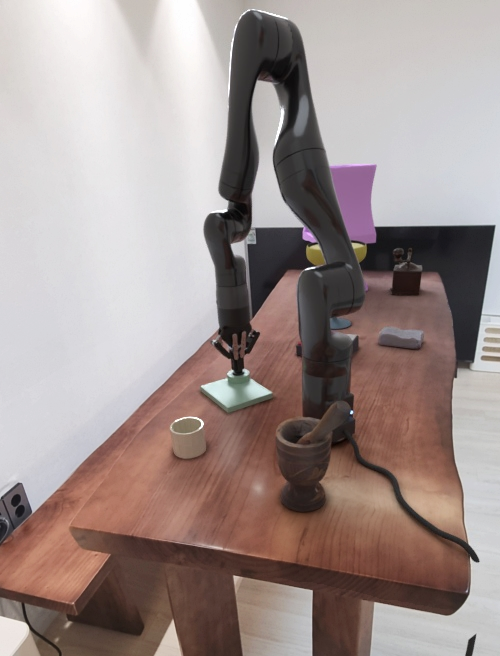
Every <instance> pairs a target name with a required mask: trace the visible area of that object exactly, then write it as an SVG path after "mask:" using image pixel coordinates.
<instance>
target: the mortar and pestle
mask: <svg viewBox="0 0 500 656" xmlns="http://www.w3.org/2000/svg"><path fill="white" fill-rule="evenodd" d="M350 413H351V407H350V406H349V404H348V403H347V402H345V401H337V402H335V403H334V404H332V405H331V406H330V408H329V409H328V410H327V412H326V413H325V414H324V416H323V417H322V419H321V420H319V419H315V418H310V417H303V416H293V417H290V418H288V419H285V420H284V421H282V422H281V423H279V424H278V425H277V427H276V429H275V455H276V462H277V466H278V469H279V472H280V474H281V475H282V478H283V479H284V480H285V481H286V482H285V484H284V485H283V487H282V489H281V492H280V500H281V501H280V502H281V503H282V504H283V506H284V507H285V508H287V509H289V510H292V511H295V512H299V513H306V512H312V511H316V510H318V509H320V508H321V507H323V505H325V503H326V499H327V498H326V491H325V489H324V486H323V485H322V483H320V482H321V481H322V480H323V479H324V478H325V476H326V473H327V471H328V468H329V465H330V461H331V454H332V446H331V442H332V431H333V430H334V429H335V428H337V427H338V426H339V425H341V424H342V423H343V422H344V421H345V420H346V419H347V418H348V417H349V415H350Z"/></svg>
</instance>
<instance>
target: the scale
mask: <svg viewBox="0 0 500 656" xmlns="http://www.w3.org/2000/svg"><path fill="white" fill-rule="evenodd" d="M243 373H244V374H243V375H241V376H234V375H233V370H232V369H230V370H229V371H227V373H226V377H225V378H222V379H219V380H215V381H212V382H209V383H205V384H202V385H200V386H199V388H200V392H201V393H202V394H204V395H205V396H206V397H208V398H209V399H210V400H211V401H213V403H215V404H216V405H218V407H220V408H221V409H222V410H223V411H225V412H226V413H227V414H230V413H233V412H235V411H239V410H241V409H245V408H247V407H250V406H253V405H257V404H260V403H261V402H264V401H268V400H271V399H273V398H274V393H273V391H271V390H269V389H268V388H266V387H264V386H263V385H261V384H260V383H258V382H257V381H255V380H254V379H252V378H251V376H250V374H251V373H250V371H249V370H248V369H246V368H244V369H243Z"/></svg>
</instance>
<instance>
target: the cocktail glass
mask: <svg viewBox="0 0 500 656" xmlns="http://www.w3.org/2000/svg"><path fill="white" fill-rule="evenodd" d="M351 243H352V246H353V248H354V251H355V254H356V257H357V259H358V262H359V264H360V263H361V262H362V261H363V260H364V259H365V258H366V256H367V249H368V247H367V243H364V242H361V241H355V240H351ZM305 250H306V251H305V253H306V258H307V260H308V261H309V262H310V263H311V264H312V265H313V266H320V265H326V264H325V261H324V258H323V255H322V252H321V250H320V247H319V245H318V243H317V242H314V243H312V242H310V243H308V244H307V245H306V249H305ZM330 325H331V330H343V329H346V328H349V327H351V325H352V322H351V320H349V319H346V318H343V317H341V318H340V317H336V318H331V319H330Z"/></svg>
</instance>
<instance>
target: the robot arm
mask: <svg viewBox="0 0 500 656" xmlns="http://www.w3.org/2000/svg"><path fill="white" fill-rule="evenodd" d="M305 49H306V48H305V44H304V40H303V36H302V34H301V31H300V29H299V27H298V26H297V24H296V23H295V22H294V21H293V20H291V19H290V18H289V19H288V18H287V17H284V16H280V15H276V14H273V13H269V12H266V11H262V10H258V9H248V10H247V11H245V12H243V14H241V16H240V17H239V19H238V21H237V23H236V25H235V28H234V32H233V36H232V42H231V50H230V59H229V60H230V61H229V77H228V98H227V118H226V119H227V121H226V122H227V123H226V136H225V144H224V145H225V146H224V151H223V157H222V163H221V167H220V172H219V173H220V174H219V177H218V187H217V192H218V194H219V196H220V197H221V198H222V199H224V200H225V201H227V208H225V209H221V210H215V211H211V212H209V213H208V214H207V215H206V217H205V218H204V221H203V227H202V232H203V238H204V241H205V244H206V248H207V251H208V253H209V255H210V258H211V259H210V260H211V261H212V263H213V269H214V277H215V303H216V312H217V321H218V326H219V327H218V331H217V336H216V338H215V339H211V340H210V342H209V343H210V345H211V346H213V348H214V349H216V350H217V351H218V352H219V353H220V355H222V356H223V357H224V358H226V359H228V360H230V367H231V368H230V369H231V370H233V371H234V372H236V373H240V372H243V369H245V356H246V355H250V354H251V352H252V350H253V349H254V347H255V345H256V343H257V342H258V340H259V338H260V336H261V332H260V331H258V330H256V329H254V328H253V326H252V324H251V309H250V308H251V306H250V291H249V286H248V277H247V264H246V263H247V262H246V260H245V258H244V257H243V255H239V254H234V251H233V248H232V245H233V244H237V243H240V242H243V241H244V240H245V239H246V238H247V237H248V236H249V234H250V232H251V229H252V226H253V191H254V187H255V184H256V179H257V175H258V171H259V165H260V145H259V141H258V135H257V131H256V127H255V121H254V114H253V113H254V112H253V102H254V96H255V90H256V86H257V84H258V83H257V82H263V83H268V84H269V83H270V84H271V85H272V86H273V88H274V91H275V94H276V97H277V101H278V106H279V111H280V120H279V124H278V125H279V126H278V130H277V133H276V137H275V140H274V145H273V147H272V148H273V150H272V166H273V171H274V175H275V179H276V183H277V186H278V190H279V194H280V197H281V199H282V201H283V203H284V205H286V208H288V210H289V211H290V213H292V215H293V216H294V217H295V218H296V219H297V220H298V222H300V223H301V224H302V226H303V227H304V226H305V227H306V228H307V229H308V231H309V232H310V233H311V234H312V235H313V237H314V238H315V240H316V241H317V243H318V245H319V247H320V250H321V252H322V255H323V258H324V261H325V264H326V265H320V266H316V265H314V266H310V267H307V268H304V269H303V270H302V271H301V272H300V273H299V276H298V278H297V282H296V288H295V289H296V290H295V291H296V293H295V294H296V295H295V296H296V310H297V311H296V312H297V327H298V329H297V330H298V336H299V342H300V341H301V345H302V356H301V398H302V399H301V403H302V404H301V405H302V406H301V407H302V408H301V409H302V411H301V412H302V416H301V417H310V418H315V419H319V420H321V419H322V417H323V416H324V414H325V413H326V412H327V410H328V409H329V408H330V406H331V405H332V404H334V403H335V402H337V401H345V402H347V403H348V404H349V406H350V407H351V413H350V415H349V417H348V418H347V419H346V420H345V421H344V422H343V423H342V424H341V425H339V426H338V427H337V428H335V429H334V430H333V431H332V442H331V447H332V446H334V445H336V444H339V443H341V442H344V441H346V440H348V441H349V443H350V444H351V447H352V448H353V453H354V457H355V458H356V460H357V461H358V462H359V463H360V464H361V465H362V466H364V467H366V468H368V469H370V470H372V471H376V472H379V473H381V474H383V475H385V476H386V477H387V479H389V480H390V481H391V483H392V485H393V491H394V495H395V497H396V499H397V501H398V503H399V504H400V506H401V507H402V508H403V509H404V510H405V511H406V512H407V513H408V514H409V515H410V516H411V517H412V518H413V519H414V520H416V521H417V522H418V523H419V524H421V525H422V526H423V527H425V528H426V529H428V530H429V531H430V532H432V533H433V534H435V535H436V536H438V537H440V538H443V539H445V540H447V541H450V542H451V543H455V544H457V545H458V546H460V547H461V548H462V549H463V550H464V551H466V553H467V554H468V556H469V557H470V559H471V560H472V561H473V562H474V563H478V564H479V563H480V562H481V561H480V558H479V556H478V554H477V552H476V551H475V550H474V548H472V546H471V545H470V544H469V543H468V542H467V541H465V540H464V539H462V538H460V537H458V536H456V535H453V534H451V533H449V532H446V531H444V530H442V529H440V528H438V527H437V526H436V525H434V524H432V522H430V521H429V520H427V519H425V518H424V517H423V516H422V515H421V514H419V513H418V512H417V511H416V510H415V509H414V508H413V507H411V506H410V505H409V504H408V502H407V501H406V500H405V498H404V497H403V495H402V492H401V489H400V488H401V487H400V485H399V482H398V479H397V477H396V476H395V475H394V474H393V473H392V472H391V471H390V470H388V469H387V468H384V467H382V466H379V465H376V464H374V463H373V464H372V463H370V462H368V461H367V460H366V459H364V458H363V457H362V456H361V453H360V448H359V446H358V443H357V441H356V440H355V438H354V437H353V435H355V433H356V418H354V403H355V395H354V393H352V392H351V387H352V386H351V385H352V367H353V366H352V363H353V356H352V348H353V343H352V339H351V338H350V337H349V336H348V335H346V334H347V333H344V332H341V331H337V330H333V329H331V325H330V319H331V318H336V317H337V318H340V317H344V316H347V315H351V314H355V313H357V312H359V311H360V310H361V309H362V307H363V306H364V304H365V301H366V291H365V283H364V280H365V278H364V274H363V271H362V268H361V265H360V263H359V262H358V259H357V257H356V254H355V251H354V248H353V246H352V243H351V240H350V237H349V235H348V232H347V229H346V226H345V223H344V220H343V216H342V213H341V209H340V206H339V202H338V199H337V195H336V191H335V188H334V183H333V178H332V173H331V169H330V166H331V165H330V162H329V159H328V155H327V150H326V148H325V144H324V141H323V137H322V134H321V129H320V125H319V120H318V117H317V112H316V107H315V103H314V99H313V93H312V87H311V81H310V75H309V68H308V62H307V56H306V50H305ZM224 343H225V344H226V347H227V349H228V350H227V349H226V348H225V347H224ZM476 639H477V633H475V634H474V635H472V636H471V637H470V638H469V639H468V640H467V645H466V650H465V654H464V656H473V653H474V649H475V645H476Z"/></svg>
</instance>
